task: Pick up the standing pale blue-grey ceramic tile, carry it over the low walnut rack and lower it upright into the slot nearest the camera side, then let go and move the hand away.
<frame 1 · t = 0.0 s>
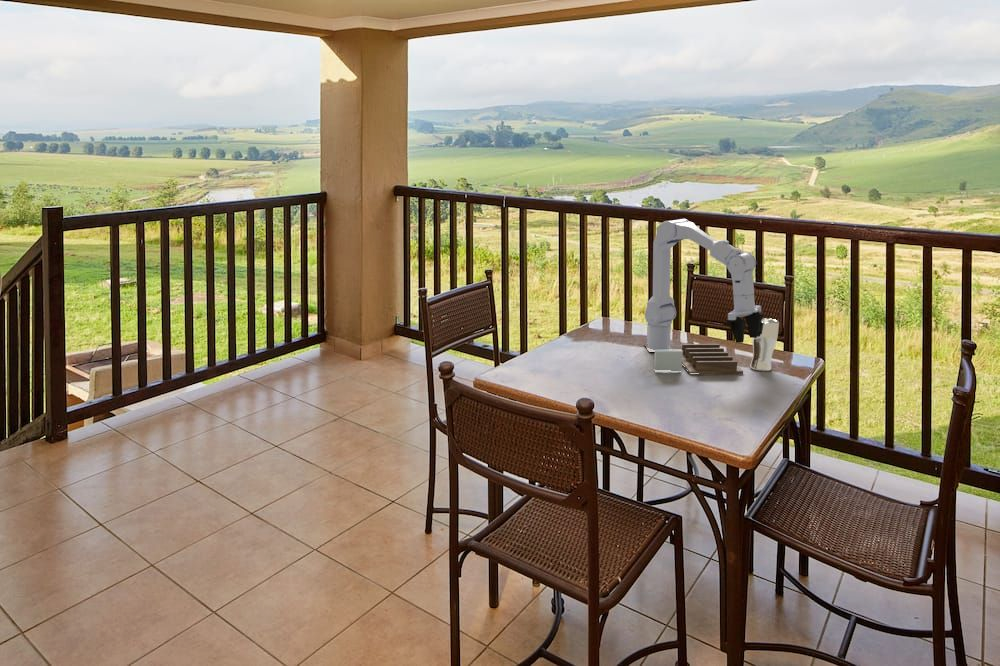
hand: (746, 340, 192), 11 cm above the table, tool pointing down, fingers open, 7 cm apart
rack: (707, 364, 203), on the table
tile: (667, 372, 198), on the table
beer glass: (760, 368, 199), on the table, touching gripper
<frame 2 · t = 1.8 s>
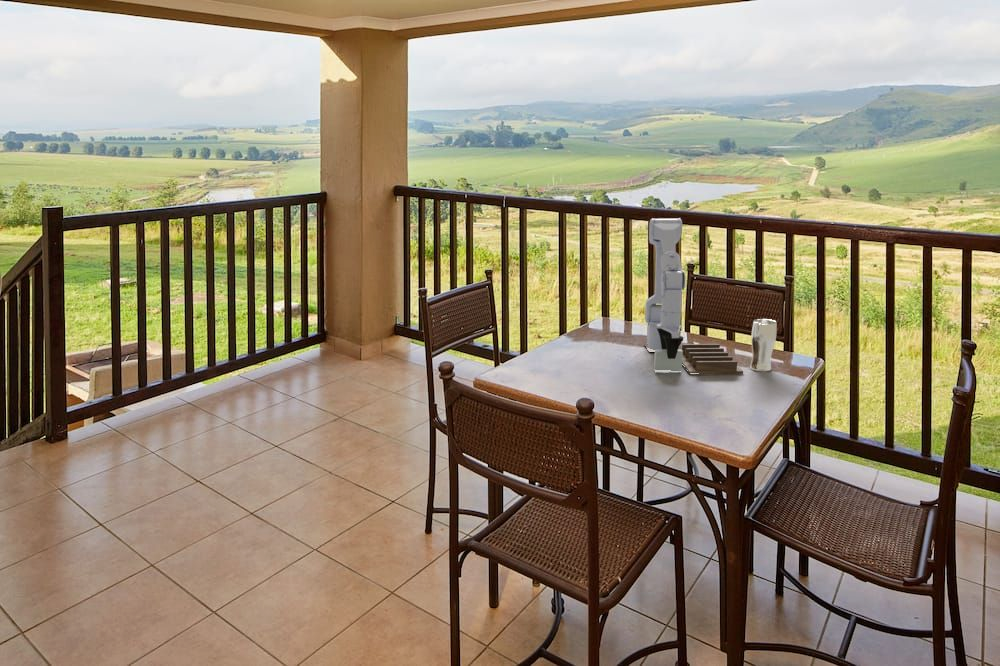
hand: (668, 354, 196), 6 cm above the table, tool pointing down, fingers open, 7 cm apart
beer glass: (760, 369, 199), on the table
everything else where it was.
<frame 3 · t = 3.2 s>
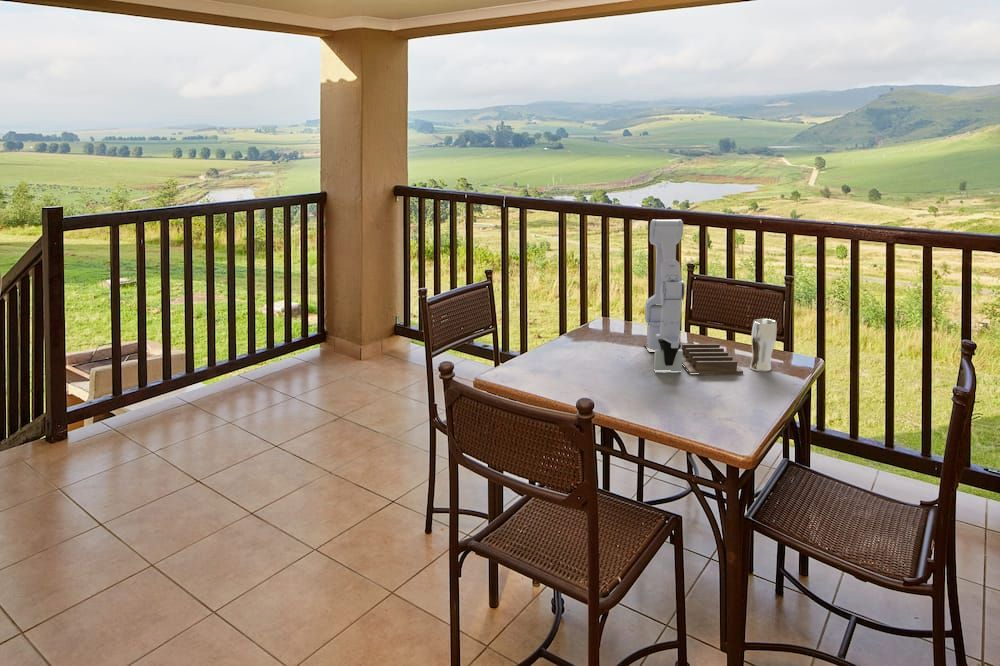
hand: (667, 363, 197), 3 cm above the table, tool pointing down, fingers closed on tile, 2 cm apart
tile: (667, 372, 198), on the table, touching gripper
everything else where it was.
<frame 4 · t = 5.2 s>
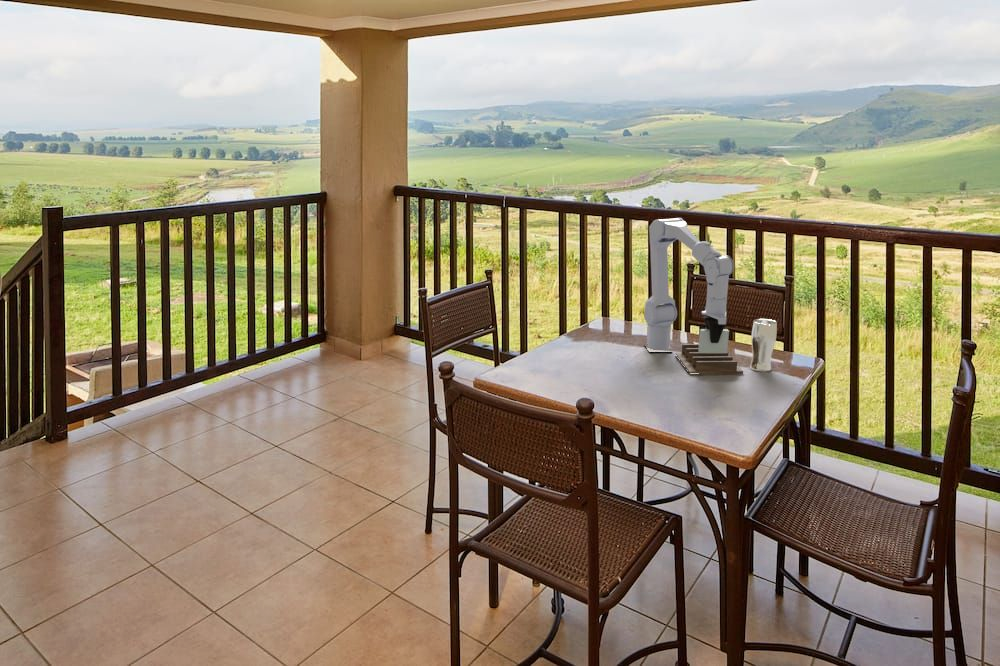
hand: (713, 341, 195), 10 cm above the table, tool pointing down, fingers closed on tile
tile: (712, 352, 196), point 6 cm above the table, touching gripper
everything else where it was.
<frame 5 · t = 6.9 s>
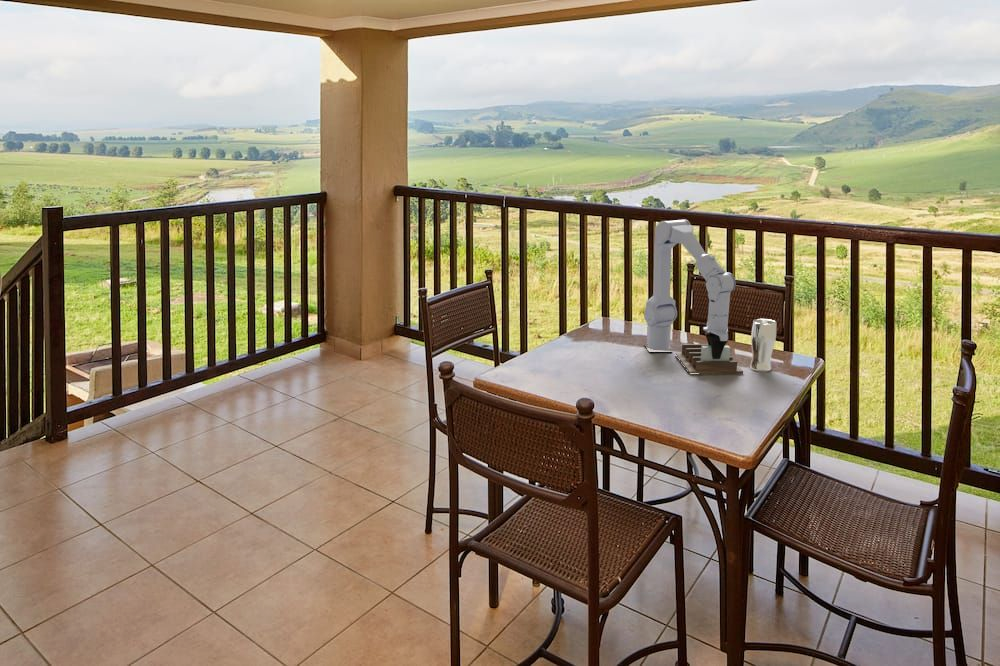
hand: (714, 357, 196), 5 cm above the table, tool pointing down, fingers closed on tile, 2 cm apart
tile: (714, 368, 197), point 1 cm above the table, touching gripper, rack
everything else where it was.
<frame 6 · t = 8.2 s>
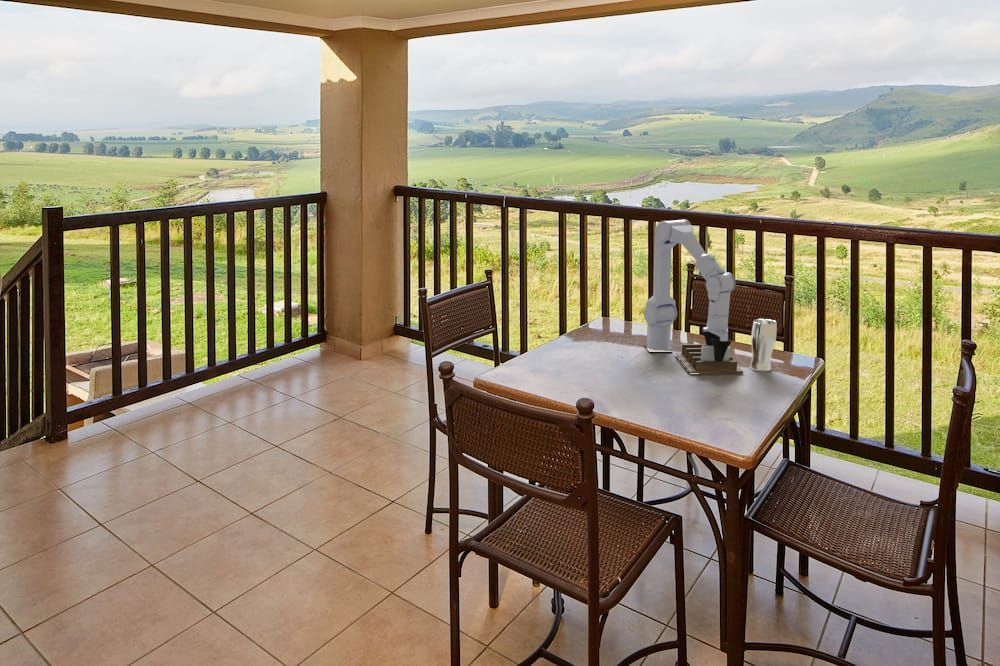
hand: (714, 357, 196), 5 cm above the table, tool pointing down, fingers open, 7 cm apart
tile: (714, 368, 197), point 1 cm above the table, touching rack
everything else where it was.
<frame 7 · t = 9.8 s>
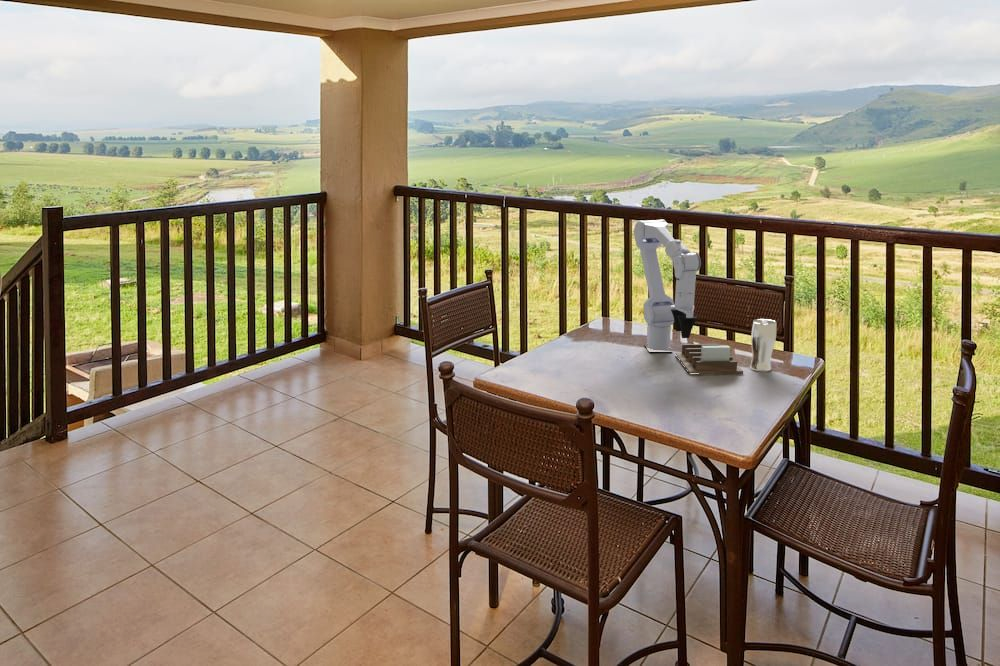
hand: (682, 334, 203), 9 cm above the table, tool pointing down, fingers open, 7 cm apart
nothing on the table moved.
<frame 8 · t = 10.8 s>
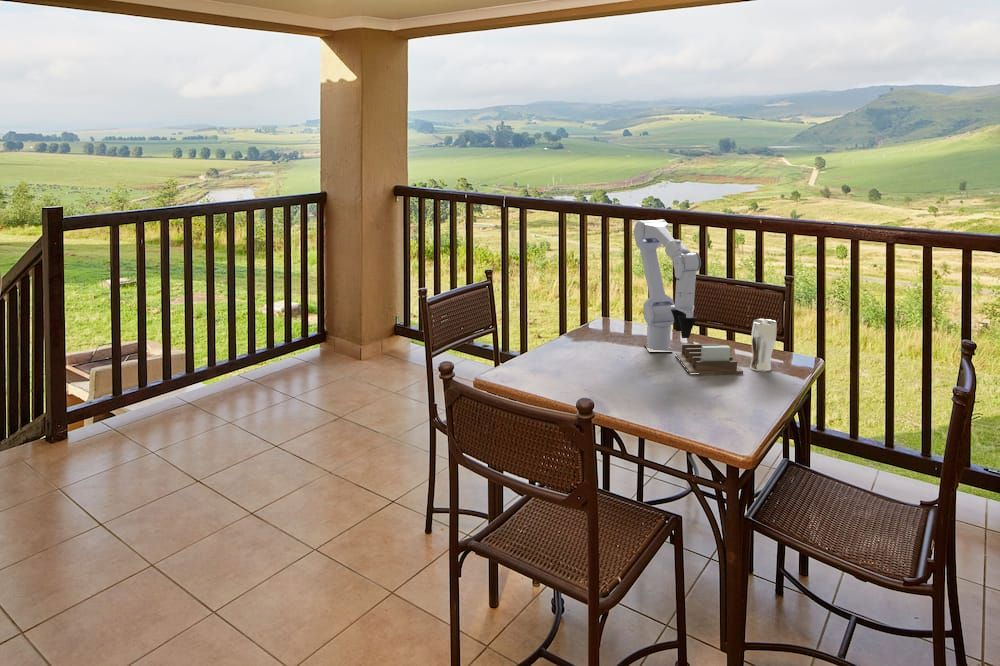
hand: (682, 334, 203), 9 cm above the table, tool pointing down, fingers open, 7 cm apart
nothing on the table moved.
at the end: tile 0.0 cm from the target spot on the rack, point 1.0 cm above the rack's base; tile tilted 0°; the gripper is holding nothing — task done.
